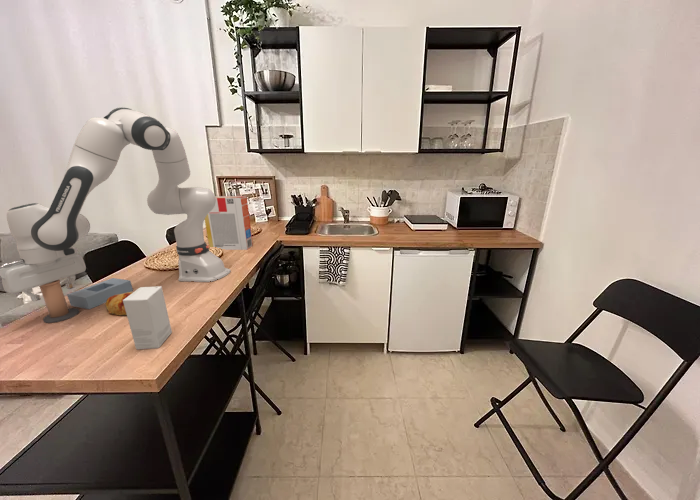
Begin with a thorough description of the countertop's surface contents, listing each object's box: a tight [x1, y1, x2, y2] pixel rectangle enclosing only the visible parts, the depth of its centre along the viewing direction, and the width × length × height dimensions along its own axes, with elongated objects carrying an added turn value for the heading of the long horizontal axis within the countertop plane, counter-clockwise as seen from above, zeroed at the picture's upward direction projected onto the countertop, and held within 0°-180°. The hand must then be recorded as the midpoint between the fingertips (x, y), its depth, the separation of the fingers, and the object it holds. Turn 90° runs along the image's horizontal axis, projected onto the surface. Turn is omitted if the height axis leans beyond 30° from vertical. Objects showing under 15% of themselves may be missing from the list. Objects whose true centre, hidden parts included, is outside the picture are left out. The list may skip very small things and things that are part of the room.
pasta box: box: [204, 195, 254, 251], centre depth 172 cm, size 23×8×30 cm, turn 85°
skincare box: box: [123, 285, 173, 350], centre depth 83 cm, size 8×7×16 cm
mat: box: [42, 307, 80, 324], centre depth 101 cm, size 9×9×1 cm
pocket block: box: [66, 277, 134, 310], centre depth 113 cm, size 10×16×4 cm, turn 162°
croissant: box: [105, 291, 134, 316], centre depth 104 cm, size 21×10×8 cm, turn 65°
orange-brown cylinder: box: [38, 279, 69, 318], centre depth 99 cm, size 5×5×12 cm
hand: (54, 294), depth 99 cm, fingers open, 8 cm apart
